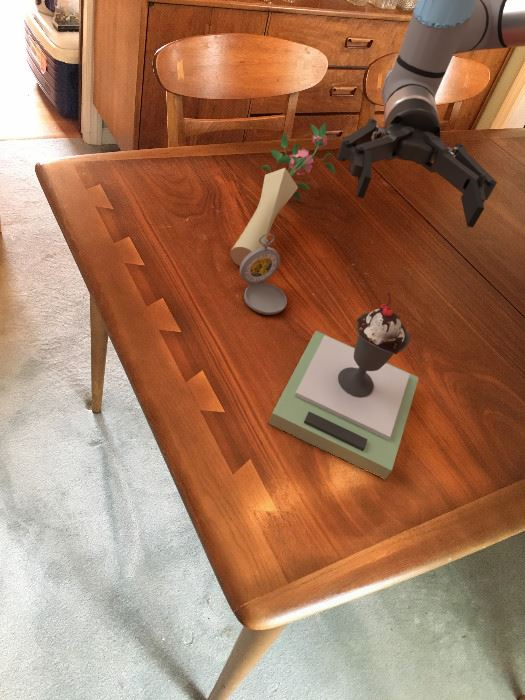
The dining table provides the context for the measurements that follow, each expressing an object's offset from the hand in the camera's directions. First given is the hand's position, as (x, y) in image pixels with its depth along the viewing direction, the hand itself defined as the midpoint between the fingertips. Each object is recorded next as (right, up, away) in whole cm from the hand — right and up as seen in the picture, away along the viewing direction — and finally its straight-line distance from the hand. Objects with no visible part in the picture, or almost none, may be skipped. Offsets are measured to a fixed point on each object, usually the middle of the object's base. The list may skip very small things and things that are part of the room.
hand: (420, 202), depth 65 cm
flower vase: (-16, +7, +37) cm, 41 cm away
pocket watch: (-18, -9, +22) cm, 30 cm away
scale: (-7, -25, +11) cm, 28 cm away
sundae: (-6, -22, +9) cm, 24 cm away
